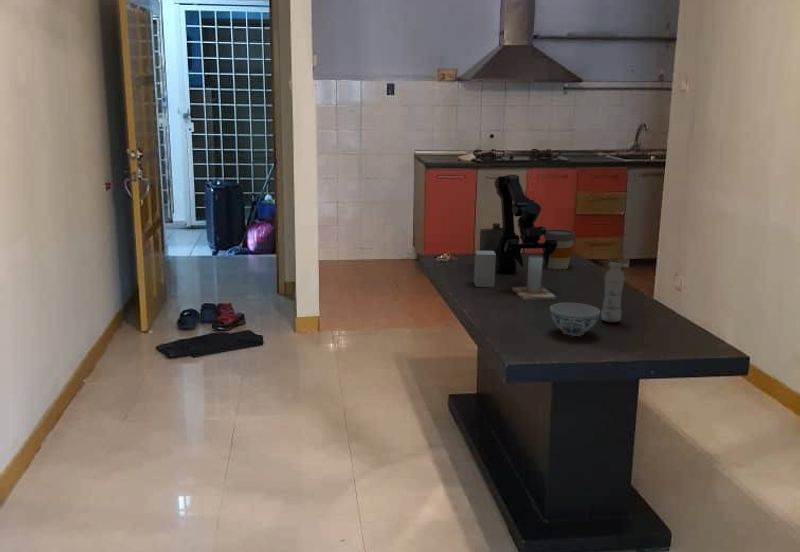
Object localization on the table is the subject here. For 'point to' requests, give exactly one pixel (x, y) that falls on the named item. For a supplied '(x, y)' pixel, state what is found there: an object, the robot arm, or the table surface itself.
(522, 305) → the table surface
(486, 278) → the supplement box
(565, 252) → the reusable coffee cup
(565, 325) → the chinaware
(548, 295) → the beige flat rectangular panel
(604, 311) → the plastic bottle
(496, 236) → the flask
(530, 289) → the grey flared tumbler
